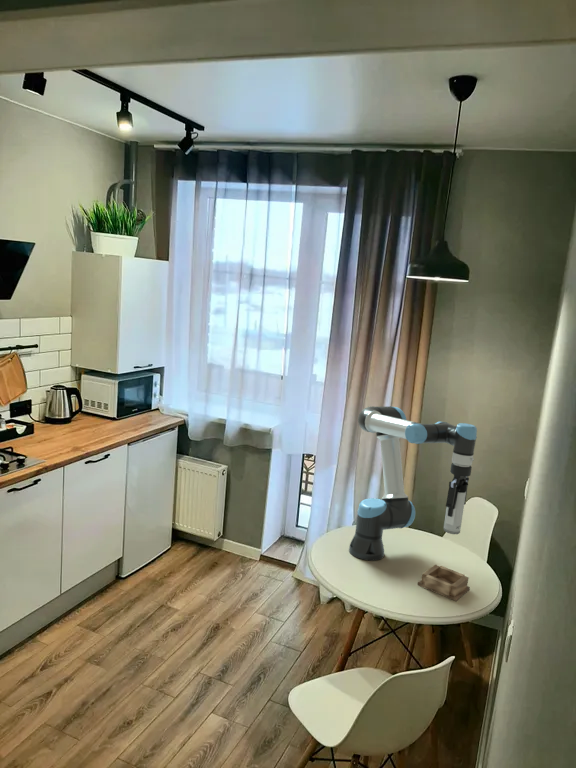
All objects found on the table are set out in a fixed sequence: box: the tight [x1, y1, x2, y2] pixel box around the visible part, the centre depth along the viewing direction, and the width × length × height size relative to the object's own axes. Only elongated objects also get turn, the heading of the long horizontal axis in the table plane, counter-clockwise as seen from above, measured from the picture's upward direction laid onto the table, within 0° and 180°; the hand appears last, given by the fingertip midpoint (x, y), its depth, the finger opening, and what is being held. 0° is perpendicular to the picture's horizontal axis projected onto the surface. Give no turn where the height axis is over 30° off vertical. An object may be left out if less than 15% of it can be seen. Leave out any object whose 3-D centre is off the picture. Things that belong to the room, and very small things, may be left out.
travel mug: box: [443, 482, 469, 535], centre depth 220 cm, size 6×7×20 cm
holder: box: [417, 564, 471, 602], centre depth 224 cm, size 16×14×5 cm
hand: (453, 521), depth 221 cm, fingers closed on travel mug, 6 cm apart
